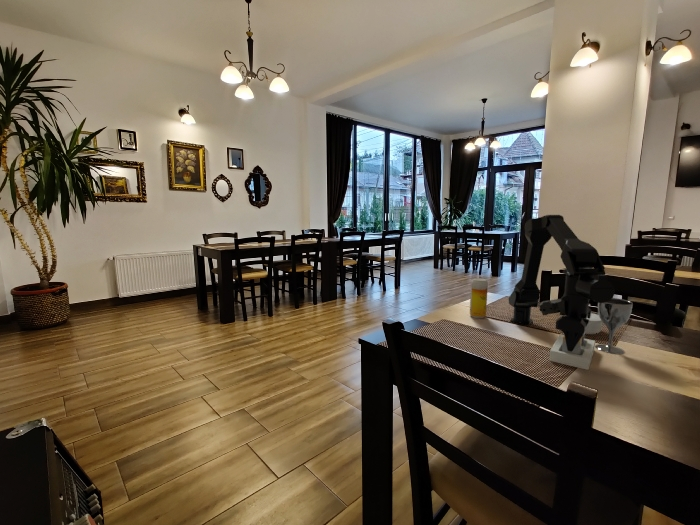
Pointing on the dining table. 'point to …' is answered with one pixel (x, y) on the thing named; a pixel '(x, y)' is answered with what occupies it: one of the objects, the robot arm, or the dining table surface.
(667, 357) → the dining table surface
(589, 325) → the ramekin
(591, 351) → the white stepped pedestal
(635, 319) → the dining table surface
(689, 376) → the dining table surface
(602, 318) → the wine glass
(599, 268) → the robot arm
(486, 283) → the yellow bottle
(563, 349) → the plug
